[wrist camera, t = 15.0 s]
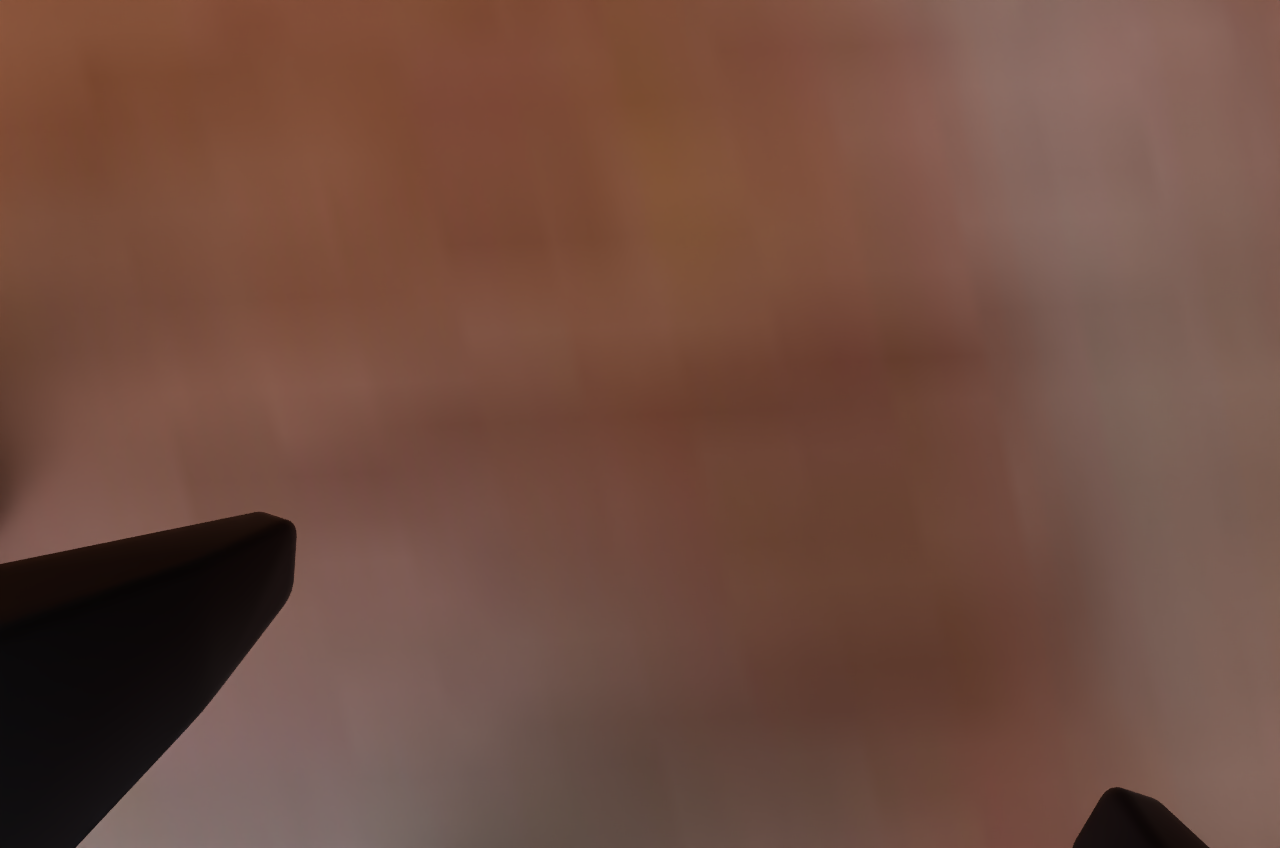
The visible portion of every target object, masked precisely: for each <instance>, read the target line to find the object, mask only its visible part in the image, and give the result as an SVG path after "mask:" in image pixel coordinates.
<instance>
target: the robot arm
mask: <svg viewBox="0 0 1280 848" xmlns="http://www.w3.org/2000/svg"><path fill="white" fill-rule="evenodd" d="M296 538H297V536H296V528H295V526H294V524H293V523H292V522H291V521H289V520H286V519H283V518H280V517H277V516H273V515H270V514H267V513H264V512H254V513H249V514H244V515H239V516H234V517H230V518H225V519H220V520H215V521H210V522H205V523H200V524H195V525H190V526H185V527H180V528H176V529H171V530H166V531H161V532H156V533H151V534H146V535H141V536H136V537H131V538H126V539H122V540H117V541H112V542H107V543H102V544H97V545H92V546H87V547H82V548H77V549H73V550H68V551H63V552H58V553H53V554H48V555H43V556H38V557H33V558H28V559H23V560H19V561H14V562H9V563H4V564H0V848H76V847H77V845H78V844H79V843H80V842H81V841H82V840H83V839H84V838H85V837H86V836H87V835H88V834H89V833H90V832H91V830H92V829H93V828H94V827H95V826H96V825H97V824H98V823H99V822H100V821H101V820H102V819H103V818H104V817H105V816H106V814H107V813H108V812H109V811H110V810H111V809H112V808H113V807H114V806H115V805H116V804H117V803H118V802H119V801H120V799H121V798H122V797H123V796H124V795H125V794H126V793H127V792H128V791H129V790H130V789H131V788H132V787H133V786H134V785H135V783H136V782H137V781H138V780H139V779H140V778H141V777H142V776H143V775H144V774H145V773H146V772H147V771H148V770H149V768H150V767H151V766H152V765H153V764H154V763H155V762H156V761H157V760H158V759H159V758H160V757H161V756H162V755H163V754H164V752H165V751H166V750H167V749H168V748H169V747H170V746H171V745H172V744H173V743H174V742H175V741H176V740H177V739H178V737H179V736H180V735H181V734H182V733H183V732H184V731H185V730H186V729H187V728H188V727H189V726H190V724H191V723H192V722H193V721H194V720H195V719H196V718H197V717H198V716H199V714H200V713H201V712H202V711H203V710H204V709H205V707H206V706H207V705H208V704H209V702H210V701H211V700H212V699H213V697H214V696H215V695H216V694H217V692H218V691H219V690H220V689H221V687H222V686H223V685H224V683H225V682H226V681H227V679H228V678H229V677H230V675H231V674H232V673H233V672H234V670H235V669H236V668H237V666H238V665H239V664H240V662H241V661H242V660H243V658H244V657H245V656H246V654H247V653H248V652H249V651H250V649H251V648H252V647H253V645H254V644H255V643H256V641H257V640H258V639H259V637H260V636H261V635H262V633H263V632H264V631H265V630H266V628H267V627H268V626H269V624H270V623H271V622H272V620H273V619H274V618H275V616H276V615H277V614H278V613H279V611H280V610H281V609H282V607H283V606H284V604H285V603H286V601H287V600H288V598H289V596H290V593H291V591H292V587H293V582H294V568H295V553H296ZM1073 848H1209V847H1208V846H1207V845H1206V844H1205V843H1204V842H1203V841H1201V840H1200V839H1199V838H1198V837H1197V836H1196V835H1195V834H1194V833H1193V832H1192V831H1191V830H1190V829H1189V828H1187V827H1186V826H1185V825H1184V824H1183V823H1182V822H1181V821H1180V820H1179V819H1178V818H1177V817H1176V816H1175V815H1173V814H1172V813H1171V812H1170V811H1169V810H1168V809H1167V808H1166V807H1165V806H1164V805H1163V804H1161V803H1160V802H1159V801H1157V800H1155V799H1153V798H1151V797H1148V796H1145V795H1142V794H1139V793H1135V792H1132V791H1129V790H1126V789H1123V788H1120V787H1115V788H1110V789H1108V790H1107V791H1106V792H1105V793H1104V794H1103V795H1102V797H1101V798H1100V800H1099V801H1098V803H1097V805H1096V806H1095V808H1094V810H1093V812H1092V813H1091V815H1090V817H1089V818H1088V820H1087V822H1086V823H1085V825H1084V827H1083V828H1082V830H1081V832H1080V833H1079V835H1078V837H1077V838H1076V840H1075V843H1074V845H1073Z"/></svg>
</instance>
